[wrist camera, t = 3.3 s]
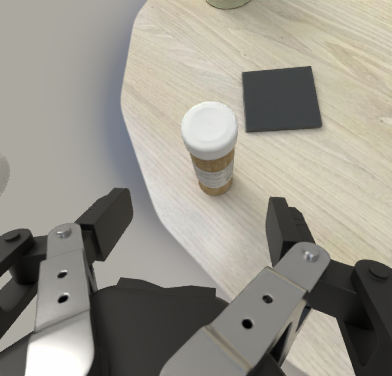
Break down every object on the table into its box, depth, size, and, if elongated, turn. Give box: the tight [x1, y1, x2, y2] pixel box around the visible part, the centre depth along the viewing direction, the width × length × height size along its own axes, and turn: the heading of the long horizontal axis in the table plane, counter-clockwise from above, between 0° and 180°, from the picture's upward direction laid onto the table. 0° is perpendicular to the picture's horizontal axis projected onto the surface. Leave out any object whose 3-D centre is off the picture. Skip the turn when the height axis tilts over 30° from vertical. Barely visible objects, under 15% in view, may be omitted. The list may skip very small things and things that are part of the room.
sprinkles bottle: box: [181, 101, 238, 196], centre depth 24 cm, size 5×5×13 cm
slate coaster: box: [242, 66, 322, 132], centre depth 33 cm, size 10×10×1 cm
